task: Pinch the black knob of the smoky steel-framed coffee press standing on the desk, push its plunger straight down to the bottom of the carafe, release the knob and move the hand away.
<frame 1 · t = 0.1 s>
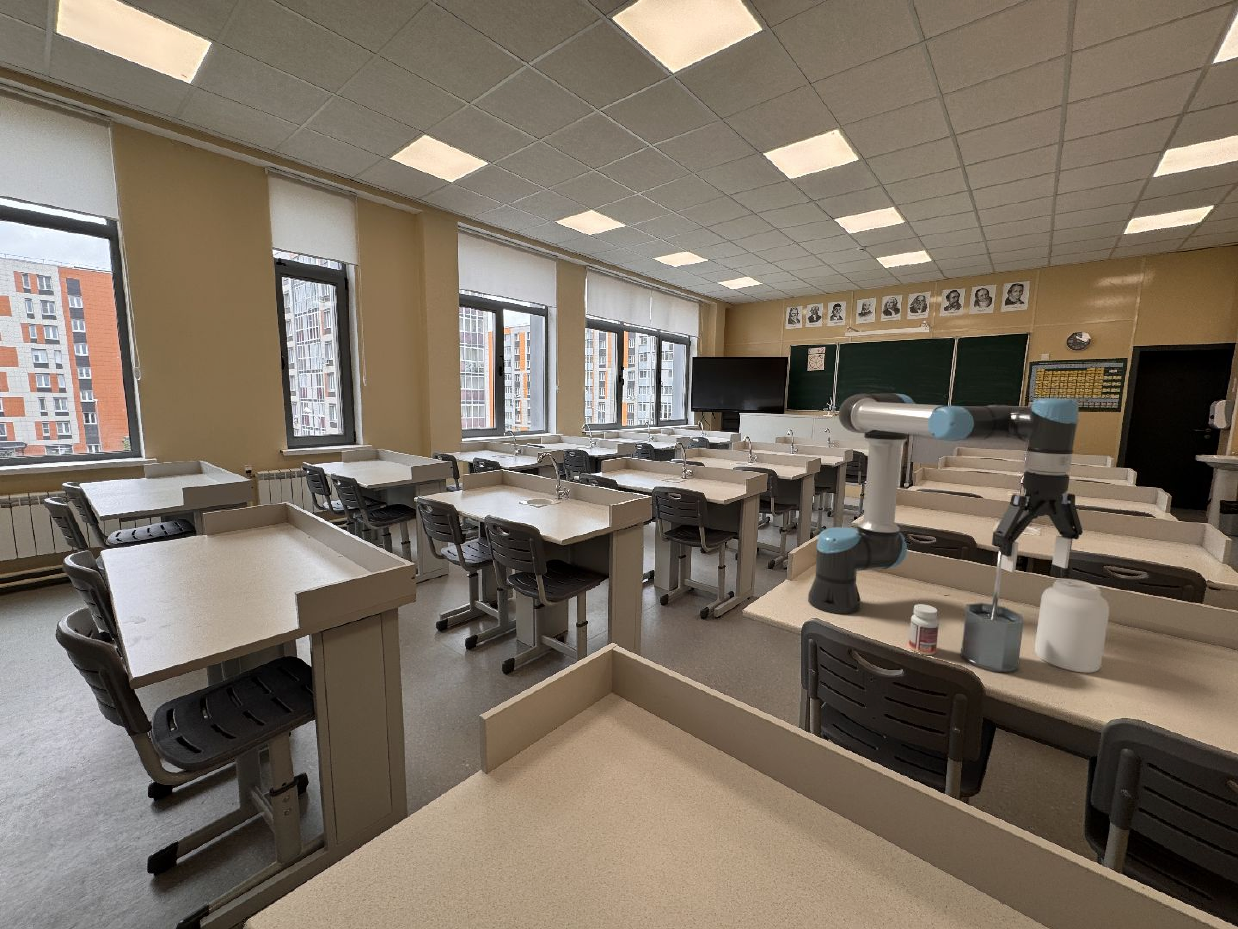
hand: (1033, 568, 114), 28 cm above the table, fingers open, 13 cm apart
pill bottle: (921, 650, 135), on the table
plunger: (997, 579, 126), point 21 cm above the table, slide at 0.0 cm
carafe: (988, 660, 129), on the table
can: (1066, 661, 130), on the table
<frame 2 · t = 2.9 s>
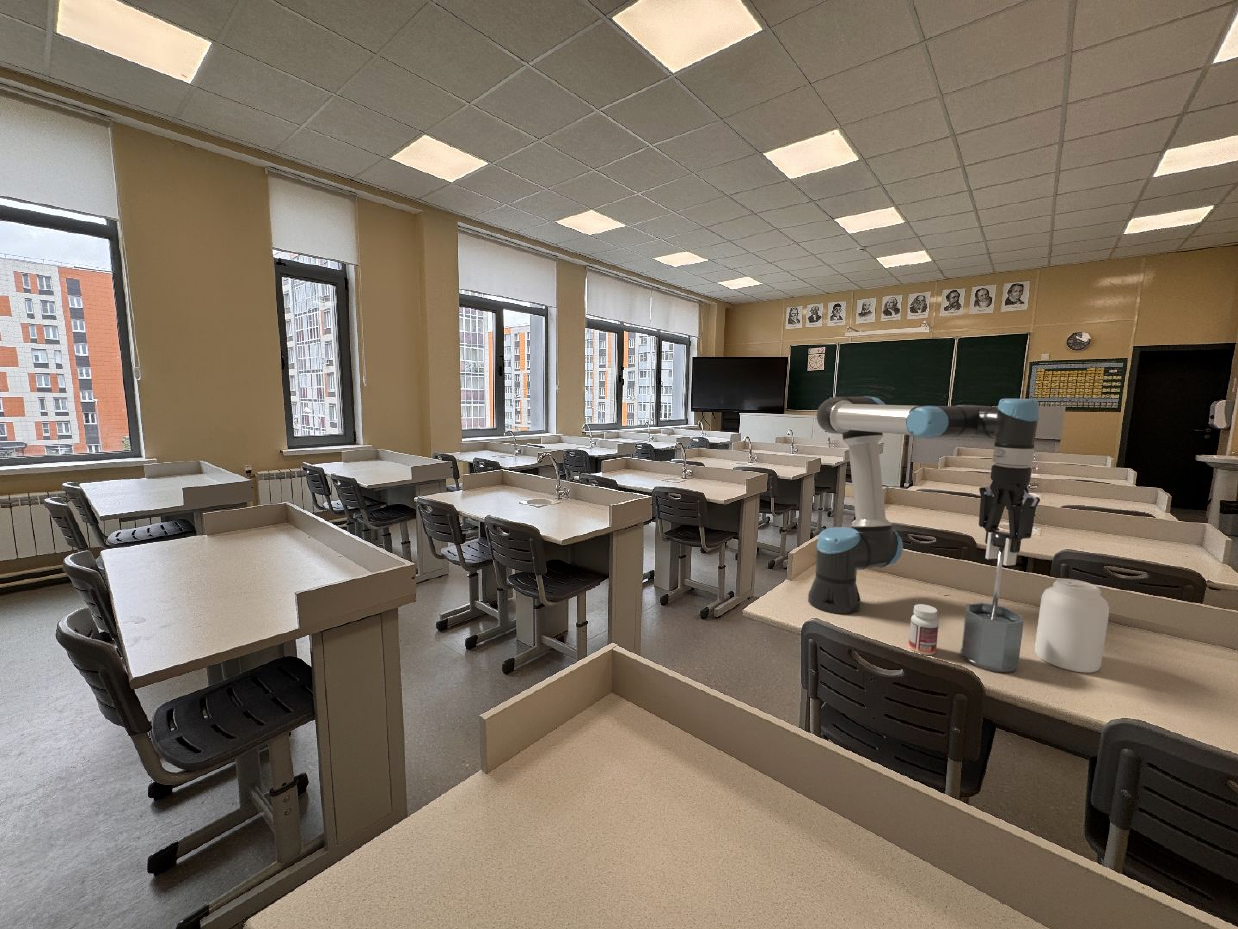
hand: (1000, 561, 125), 26 cm above the table, fingers closed on plunger, 4 cm apart
plunger: (997, 579, 126), point 21 cm above the table, slide at 0.0 cm, touching gripper
everything else where it was.
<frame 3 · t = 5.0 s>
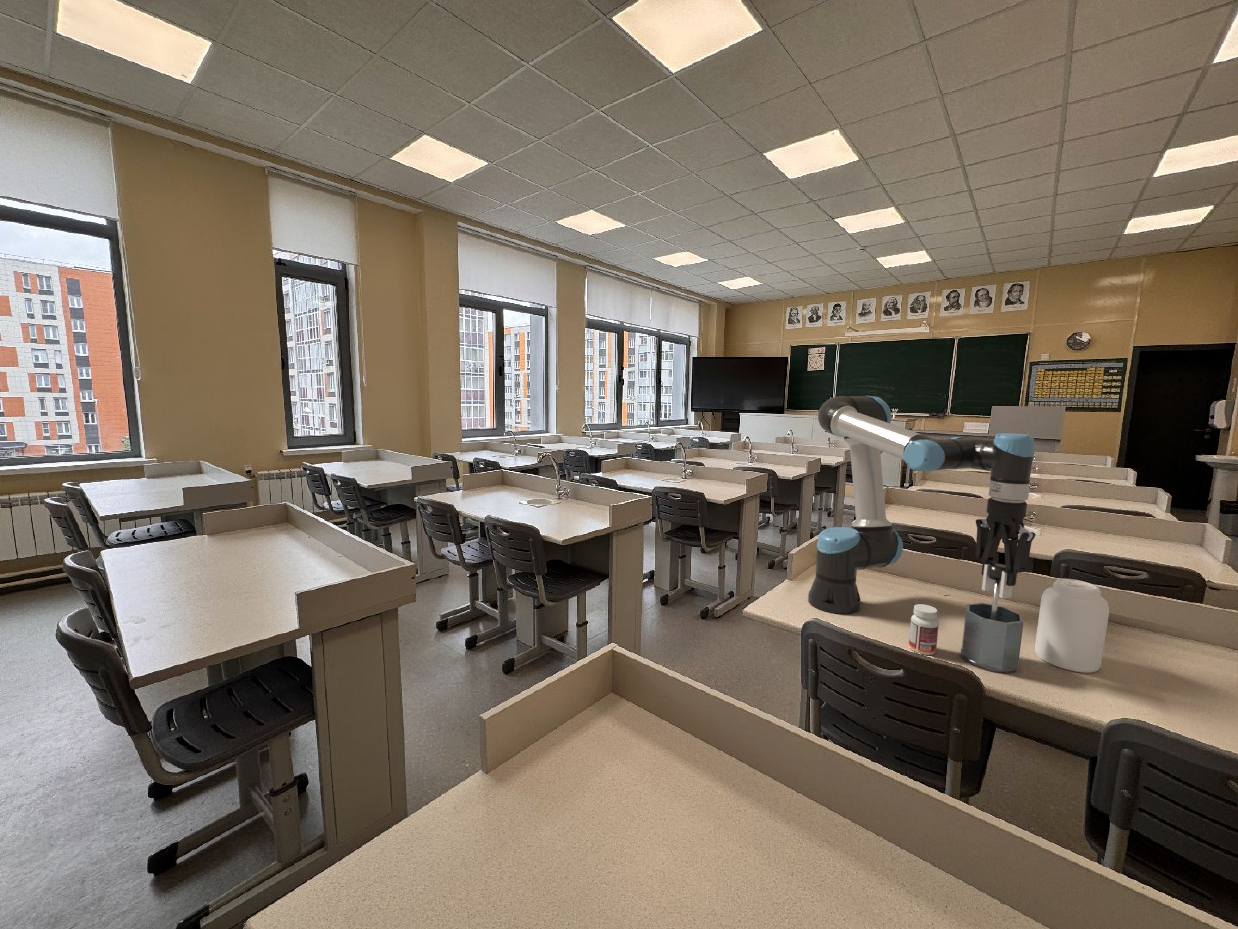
hand: (996, 593, 127), 18 cm above the table, fingers closed on plunger, 4 cm apart
plunger: (994, 611, 127), point 13 cm above the table, slide at 8.1 cm, touching gripper
everything else where it was.
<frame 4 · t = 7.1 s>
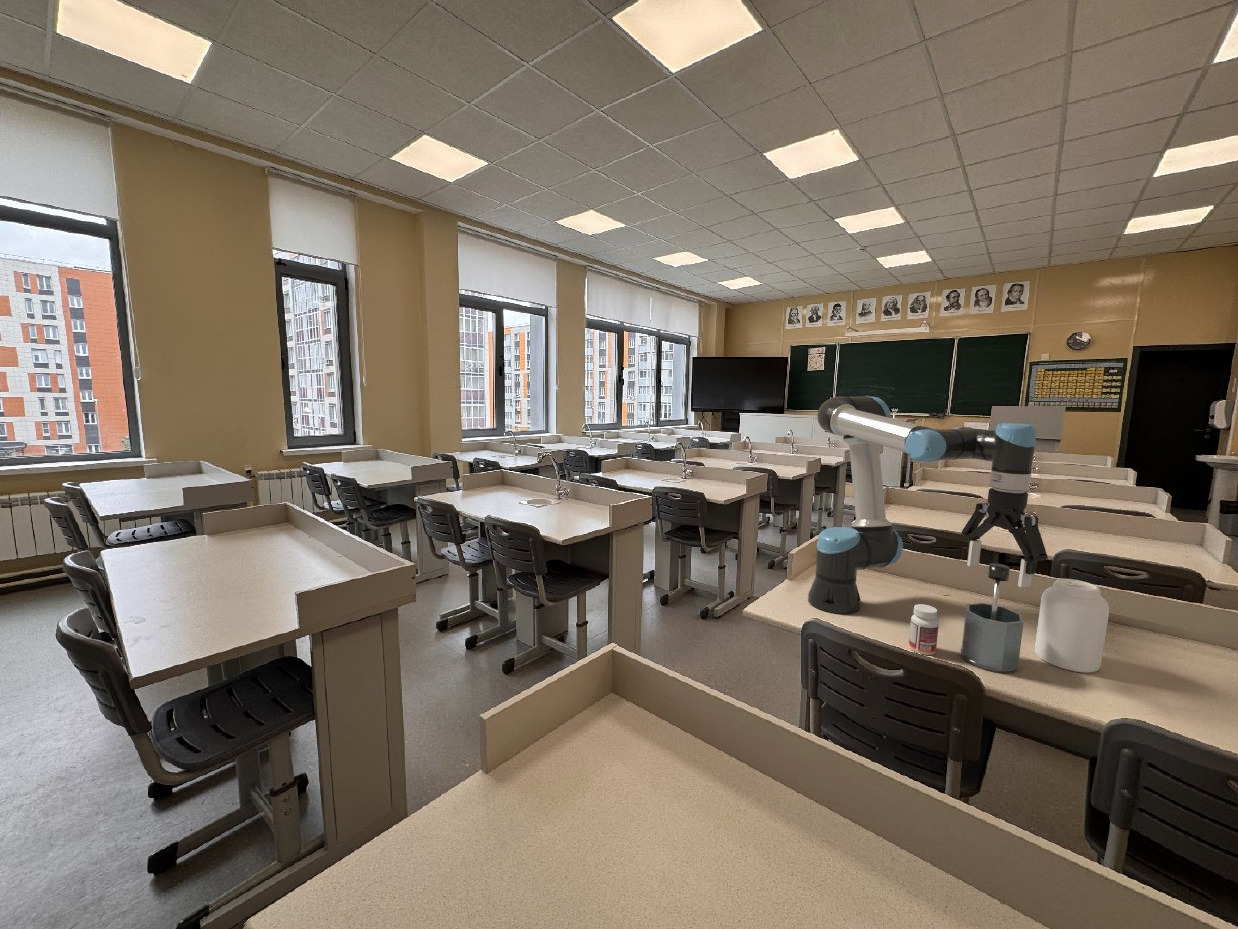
hand: (997, 575, 126), 22 cm above the table, fingers open, 13 cm apart
plunger: (994, 611, 127), point 13 cm above the table, slide at 8.1 cm
everything else where it was.
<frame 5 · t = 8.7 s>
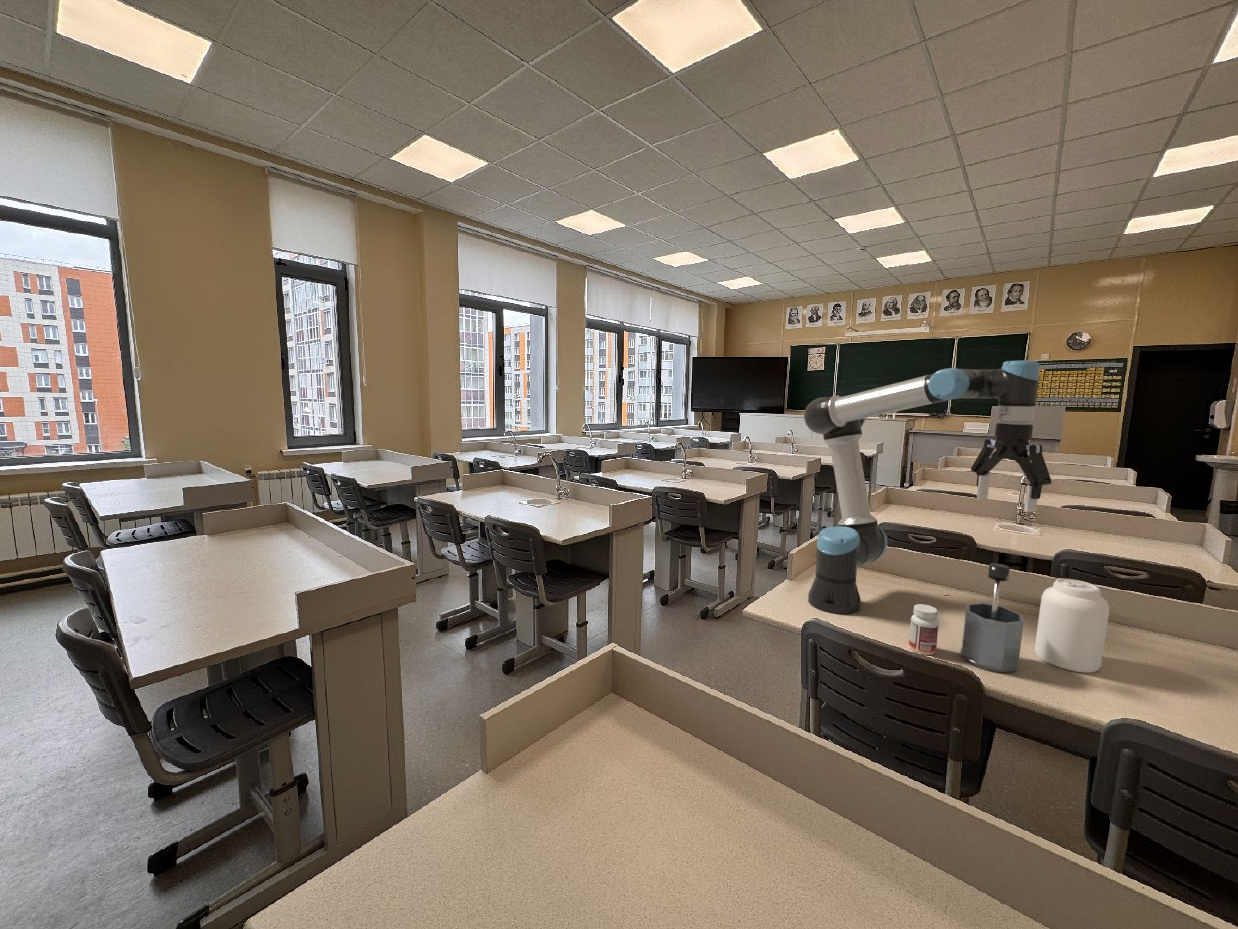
hand: (1004, 505, 135), 37 cm above the table, fingers open, 13 cm apart
nothing on the table moved.
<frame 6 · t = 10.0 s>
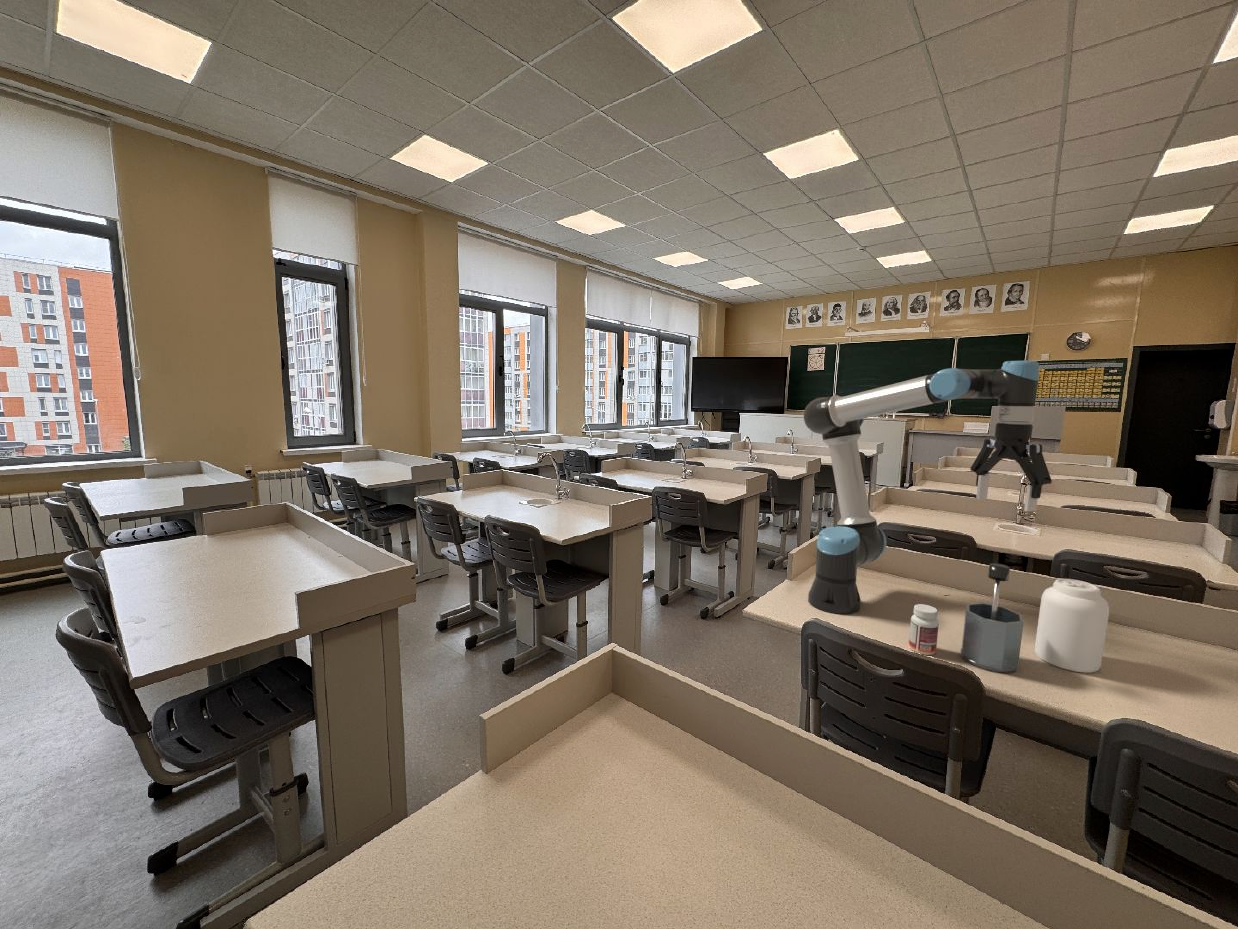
hand: (1004, 504, 136), 37 cm above the table, fingers open, 13 cm apart
nothing on the table moved.
at the end: plunger slide at 8.1 cm; the gripper is holding nothing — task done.
